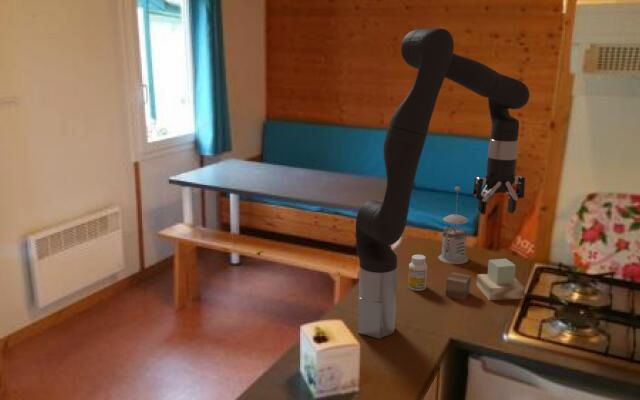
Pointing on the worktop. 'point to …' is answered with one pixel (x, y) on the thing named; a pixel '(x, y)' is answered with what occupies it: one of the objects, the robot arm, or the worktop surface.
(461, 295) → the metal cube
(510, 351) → the worktop surface
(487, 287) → the pine block
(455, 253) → the french press
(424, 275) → the supplement bottle
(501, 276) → the green cube
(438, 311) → the worktop surface
